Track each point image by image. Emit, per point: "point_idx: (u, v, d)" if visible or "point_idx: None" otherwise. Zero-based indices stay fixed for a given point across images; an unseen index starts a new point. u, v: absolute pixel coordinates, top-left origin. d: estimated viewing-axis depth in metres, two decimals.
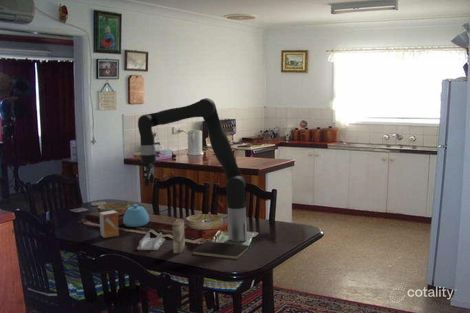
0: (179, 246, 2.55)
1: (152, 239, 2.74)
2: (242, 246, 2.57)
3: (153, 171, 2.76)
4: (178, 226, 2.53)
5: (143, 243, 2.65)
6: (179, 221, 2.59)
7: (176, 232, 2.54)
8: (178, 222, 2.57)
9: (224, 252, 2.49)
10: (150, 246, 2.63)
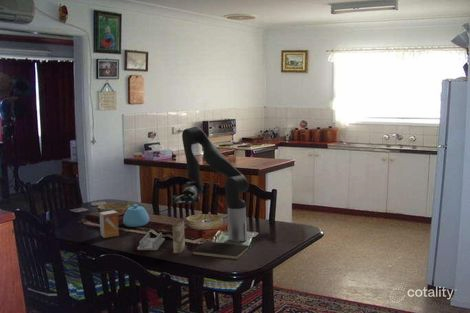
0: (179, 246, 2.55)
1: (152, 239, 2.74)
2: (242, 246, 2.57)
3: (190, 196, 2.77)
4: (178, 226, 2.53)
5: (143, 243, 2.65)
6: (179, 221, 2.59)
7: (176, 232, 2.54)
8: (178, 222, 2.57)
9: (224, 252, 2.49)
10: (150, 246, 2.63)
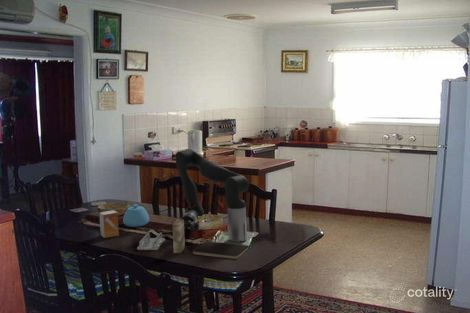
0: (179, 246, 2.55)
1: (152, 239, 2.74)
2: (242, 246, 2.57)
3: (189, 222, 2.74)
4: (178, 226, 2.53)
5: (143, 243, 2.65)
6: (179, 221, 2.59)
7: (176, 232, 2.54)
8: (178, 222, 2.57)
9: (224, 252, 2.49)
10: (150, 246, 2.63)
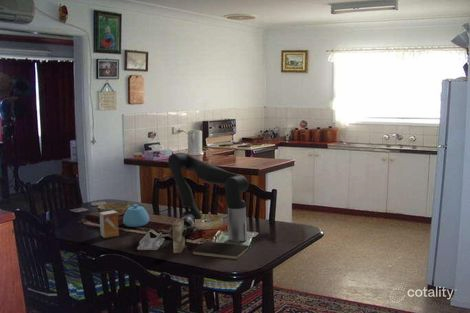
0: (179, 246, 2.55)
1: (152, 239, 2.74)
2: (242, 246, 2.57)
3: (184, 227, 2.66)
4: (178, 226, 2.53)
5: (143, 243, 2.65)
6: (179, 221, 2.59)
7: (176, 232, 2.54)
8: (178, 222, 2.57)
9: (224, 252, 2.49)
10: (150, 246, 2.63)
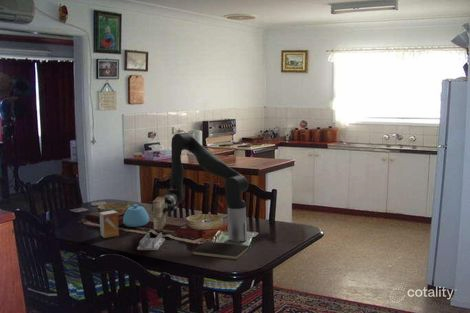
0: (159, 222, 2.59)
1: (152, 239, 2.74)
2: (242, 246, 2.57)
3: (165, 204, 2.70)
4: (158, 203, 2.57)
5: (143, 243, 2.65)
6: (160, 198, 2.63)
7: (156, 209, 2.58)
8: (158, 199, 2.62)
9: (224, 252, 2.49)
10: (150, 246, 2.63)
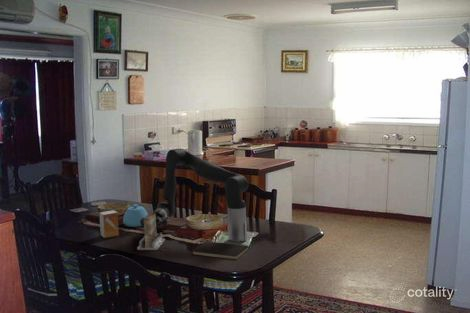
0: (150, 239, 2.64)
1: None
2: (242, 246, 2.57)
3: (158, 218, 2.74)
4: (149, 220, 2.62)
5: (143, 243, 2.65)
6: (151, 215, 2.68)
7: (147, 226, 2.63)
8: (150, 216, 2.66)
9: (224, 252, 2.49)
10: (150, 246, 2.63)
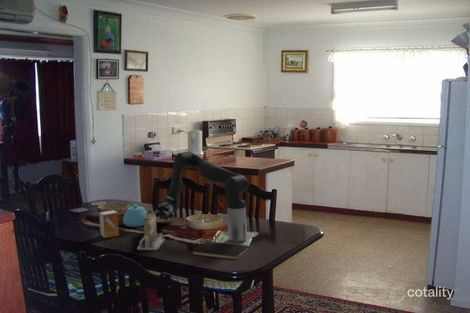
0: (150, 239, 2.64)
1: None
2: (242, 246, 2.57)
3: (164, 212, 2.87)
4: (149, 220, 2.62)
5: (143, 243, 2.65)
6: (151, 215, 2.68)
7: (147, 226, 2.63)
8: (150, 216, 2.66)
9: (224, 252, 2.49)
10: (150, 246, 2.63)
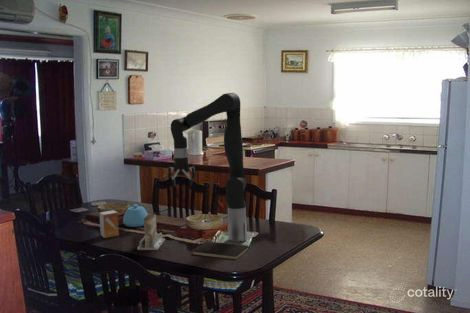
0: (150, 239, 2.64)
1: None
2: (242, 246, 2.57)
3: None
4: (149, 220, 2.62)
5: (143, 243, 2.65)
6: (151, 215, 2.68)
7: (147, 226, 2.63)
8: (150, 216, 2.66)
9: (224, 252, 2.49)
10: (150, 246, 2.63)
